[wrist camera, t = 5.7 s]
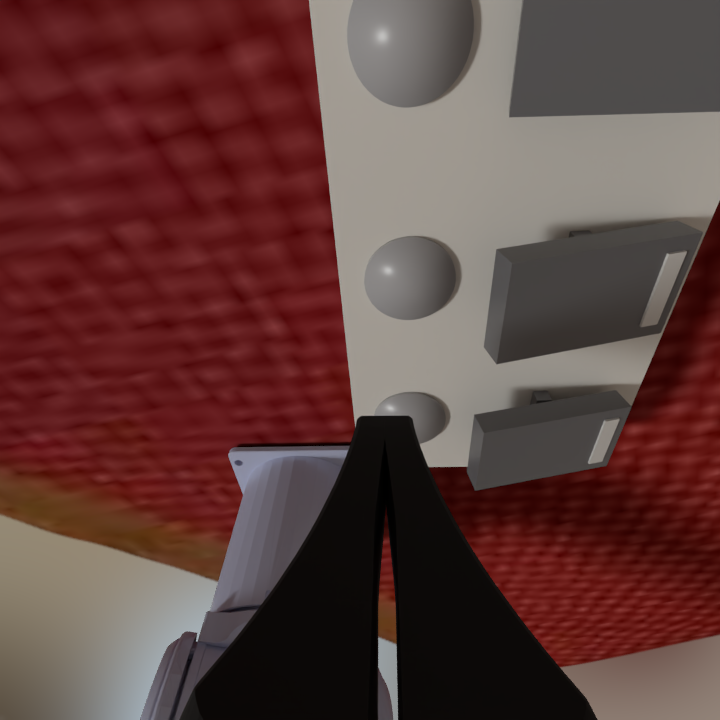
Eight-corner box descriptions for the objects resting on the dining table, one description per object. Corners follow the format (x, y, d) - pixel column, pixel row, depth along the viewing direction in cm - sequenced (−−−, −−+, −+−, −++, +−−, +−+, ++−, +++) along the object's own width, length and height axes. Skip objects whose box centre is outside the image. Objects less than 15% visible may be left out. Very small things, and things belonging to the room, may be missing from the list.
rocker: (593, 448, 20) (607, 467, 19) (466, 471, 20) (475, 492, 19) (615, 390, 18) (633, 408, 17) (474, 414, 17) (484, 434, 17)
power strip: (584, 420, 24) (611, 475, 21) (361, 424, 25) (359, 477, 22) (791, -178, 11) (934, -244, 8) (310, -124, 12) (287, -166, 9)
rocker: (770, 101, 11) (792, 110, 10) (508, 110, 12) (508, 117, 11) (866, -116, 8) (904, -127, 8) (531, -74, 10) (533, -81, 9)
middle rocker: (640, 317, 16) (662, 334, 15) (483, 346, 15) (497, 366, 14) (677, 220, 14) (705, 233, 13) (496, 249, 13) (513, 265, 12)
